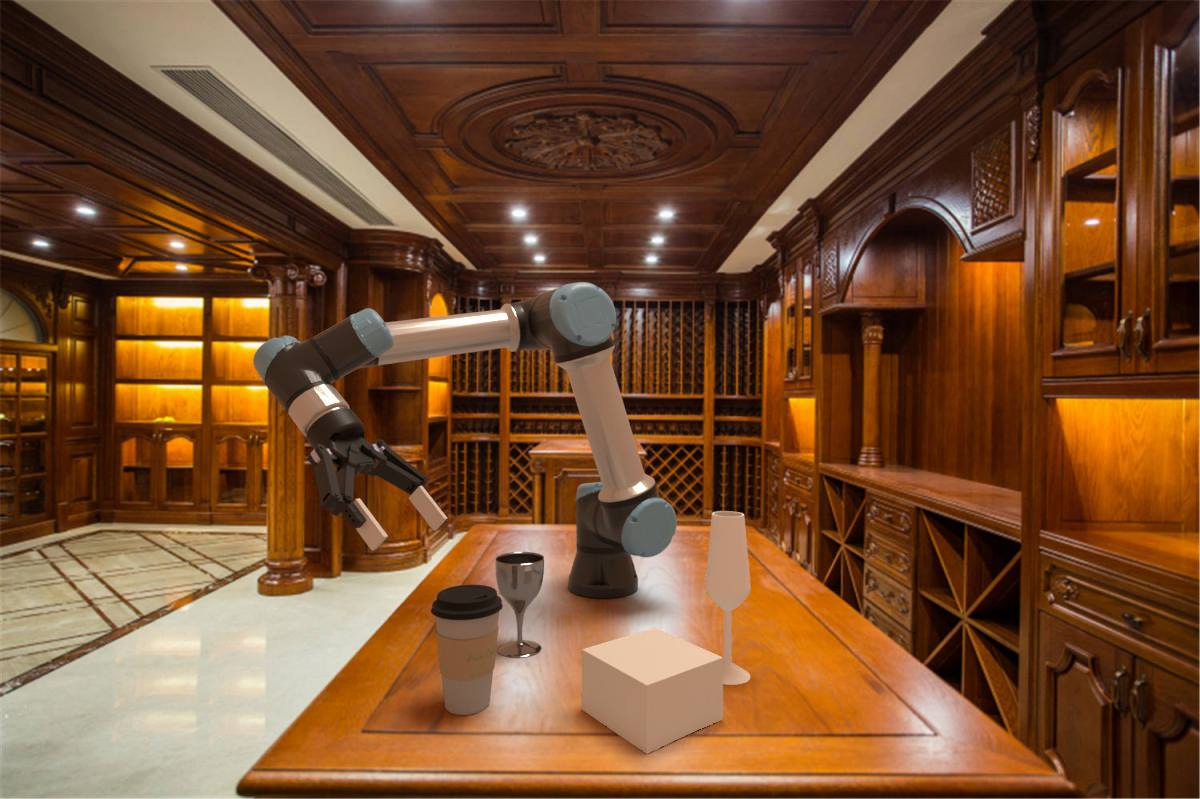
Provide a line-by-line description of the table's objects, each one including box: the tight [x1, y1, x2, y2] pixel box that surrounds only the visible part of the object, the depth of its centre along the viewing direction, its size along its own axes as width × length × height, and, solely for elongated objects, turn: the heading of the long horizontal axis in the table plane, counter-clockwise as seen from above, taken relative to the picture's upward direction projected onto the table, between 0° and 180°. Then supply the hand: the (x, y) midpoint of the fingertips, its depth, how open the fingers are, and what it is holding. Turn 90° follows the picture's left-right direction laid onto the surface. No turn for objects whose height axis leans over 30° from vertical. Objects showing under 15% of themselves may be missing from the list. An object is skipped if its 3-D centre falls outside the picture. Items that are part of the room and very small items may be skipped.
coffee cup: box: [430, 584, 503, 716], centre depth 85 cm, size 9×9×15 cm
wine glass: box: [494, 551, 545, 659], centre depth 103 cm, size 8×8×15 cm
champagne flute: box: [704, 510, 752, 686], centre depth 94 cm, size 7×7×24 cm
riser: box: [581, 627, 724, 755], centre depth 82 cm, size 13×13×8 cm
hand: (412, 533), depth 88 cm, fingers open, 13 cm apart
